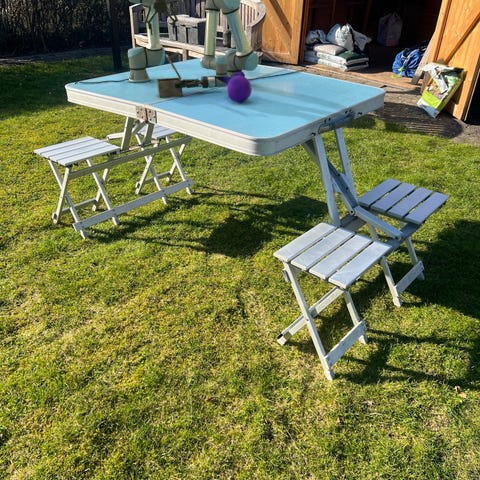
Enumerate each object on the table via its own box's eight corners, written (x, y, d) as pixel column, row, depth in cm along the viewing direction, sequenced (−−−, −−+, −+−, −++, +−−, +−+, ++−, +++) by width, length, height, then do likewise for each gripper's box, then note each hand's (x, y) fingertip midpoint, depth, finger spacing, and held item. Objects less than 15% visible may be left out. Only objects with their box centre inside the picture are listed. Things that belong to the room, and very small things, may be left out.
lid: (167, 57, 280) (178, 49, 279) (165, 55, 288) (176, 48, 287) (180, 79, 288) (191, 72, 288) (178, 77, 296) (189, 70, 296)
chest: (159, 97, 290) (158, 81, 285) (158, 94, 298) (156, 79, 293) (182, 96, 294) (181, 80, 289) (180, 93, 301) (179, 77, 296)
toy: (237, 93, 295) (251, 108, 274) (212, 89, 288) (224, 103, 267) (243, 69, 287) (258, 82, 266) (217, 64, 279) (231, 76, 259)
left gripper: (179, -6, 272) (181, 33, 283) (137, -4, 267) (141, 35, 277) (180, -5, 266) (183, 34, 277) (138, -4, 260) (142, 36, 271)
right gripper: (211, 91, 291) (177, 94, 286) (204, 84, 309) (172, 87, 304) (210, 79, 287) (176, 81, 282) (204, 73, 305) (171, 75, 301)
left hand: (162, 34), depth 277 cm, fingers open, 13 cm apart
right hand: (174, 84), depth 293 cm, fingers closed on chest, 9 cm apart
